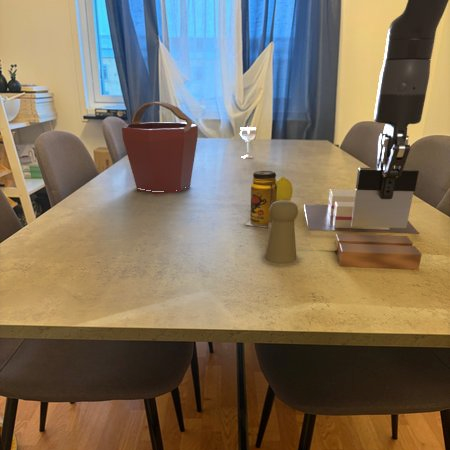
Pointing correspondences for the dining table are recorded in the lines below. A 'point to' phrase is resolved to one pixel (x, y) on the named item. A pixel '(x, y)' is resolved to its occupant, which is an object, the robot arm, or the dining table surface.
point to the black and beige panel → (383, 208)
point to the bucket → (161, 151)
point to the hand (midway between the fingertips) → (383, 196)
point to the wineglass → (248, 137)
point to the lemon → (284, 189)
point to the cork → (282, 232)
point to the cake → (339, 198)
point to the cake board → (323, 221)
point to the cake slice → (346, 216)
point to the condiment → (262, 198)
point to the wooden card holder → (376, 251)
